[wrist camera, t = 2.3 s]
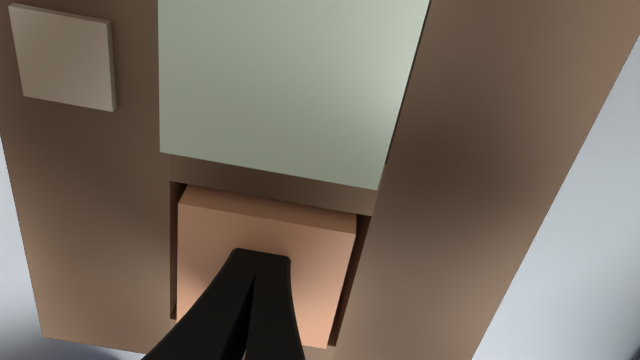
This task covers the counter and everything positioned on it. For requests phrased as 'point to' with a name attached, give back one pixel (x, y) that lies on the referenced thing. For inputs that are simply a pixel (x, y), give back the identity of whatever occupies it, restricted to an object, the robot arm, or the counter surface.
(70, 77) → the keypad board
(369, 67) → the sage key
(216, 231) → the terracotta key
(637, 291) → the counter surface
